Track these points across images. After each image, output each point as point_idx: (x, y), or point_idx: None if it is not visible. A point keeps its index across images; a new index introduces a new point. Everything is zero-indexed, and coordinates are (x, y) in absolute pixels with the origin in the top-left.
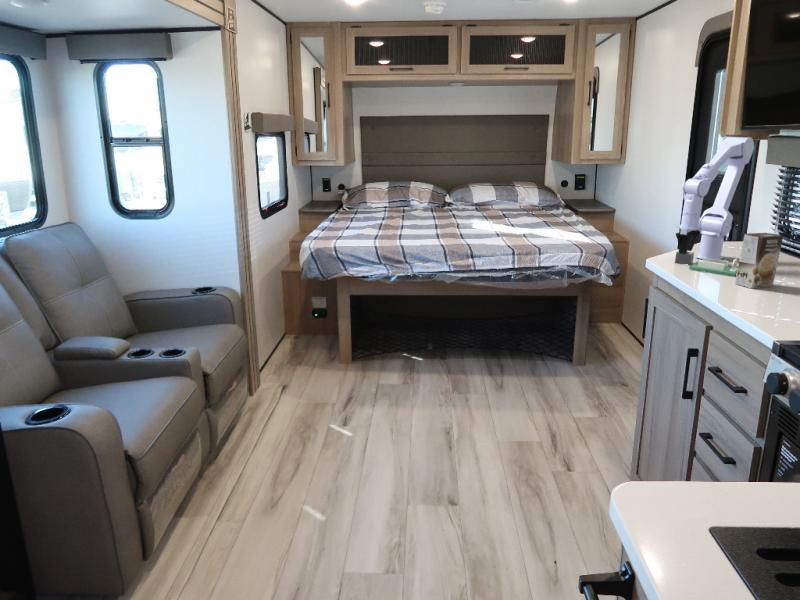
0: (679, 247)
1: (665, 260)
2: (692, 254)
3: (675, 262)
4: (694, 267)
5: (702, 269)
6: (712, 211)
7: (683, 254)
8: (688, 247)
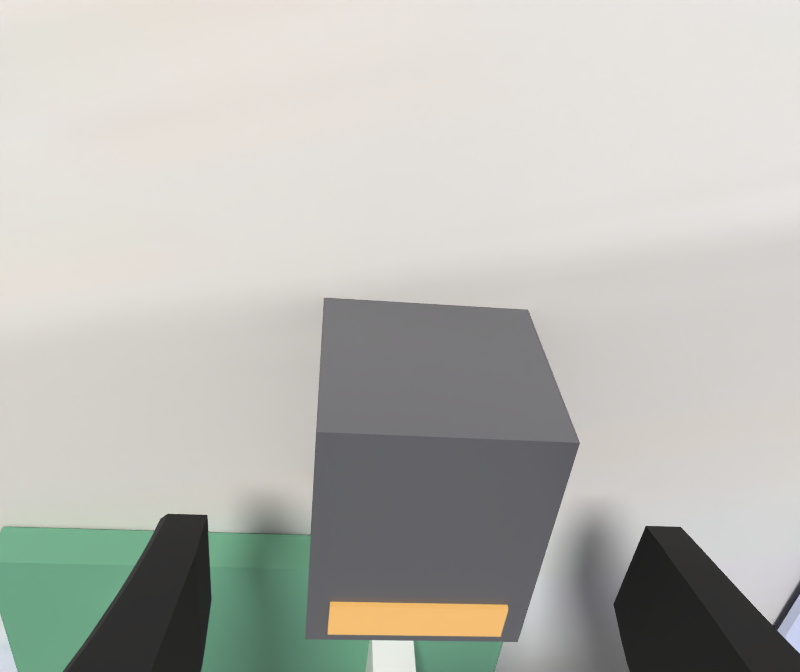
0: (99, 633)
1: (475, 107)
2: (393, 631)
3: (325, 315)
4: (3, 607)
5: (23, 664)
6: None
7: (311, 529)
8: (654, 624)
